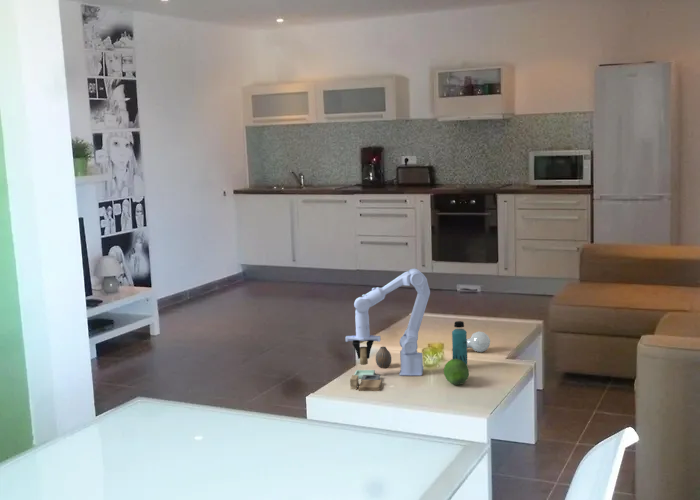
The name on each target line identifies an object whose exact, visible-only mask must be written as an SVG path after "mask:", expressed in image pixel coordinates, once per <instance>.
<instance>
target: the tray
mask: <svg viewBox="0 0 700 500" xmlns="http://www.w3.org/2000/svg"><path fill="white" fill-rule="evenodd" d="M353 375H358V380H361V379H362V377H363V375H376V370H375V369H356V370H355V372H354V374H353Z"/></svg>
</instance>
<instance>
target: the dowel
mask: <svg viewBox="0 0 700 500" xmlns="http://www.w3.org/2000/svg"><path fill="white" fill-rule="evenodd" d="M359 349H360V359H359V364H360V365H362V366H366V365H368V364H369V361H368V359H367V346H360V348H359Z"/></svg>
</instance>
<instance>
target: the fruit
mask: <svg viewBox="0 0 700 500" xmlns="http://www.w3.org/2000/svg"><path fill="white" fill-rule="evenodd" d="M443 373H444V377H445V379H446V381H447V382H448V383H450V384H451V385H462V384H465V383H466V381H467V380H468V379H469V376H470V370H469V366H468V365H466V363H465V362H464V361H462V360H460V359H453V358H452V359H450V360H448V361H447V362H446V363H445V364H444V369H443Z"/></svg>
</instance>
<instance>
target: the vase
mask: <svg viewBox="0 0 700 500" xmlns="http://www.w3.org/2000/svg"><path fill="white" fill-rule="evenodd" d="M375 363H376V365H377V366H378V367H379V368H381V369H386V368H389V367H390V365H391V364H392V354H391V352H390V351H389V350H388V349H387V347H386V346H380V347H379V349H378V351H377V352H376V355H375Z"/></svg>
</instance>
